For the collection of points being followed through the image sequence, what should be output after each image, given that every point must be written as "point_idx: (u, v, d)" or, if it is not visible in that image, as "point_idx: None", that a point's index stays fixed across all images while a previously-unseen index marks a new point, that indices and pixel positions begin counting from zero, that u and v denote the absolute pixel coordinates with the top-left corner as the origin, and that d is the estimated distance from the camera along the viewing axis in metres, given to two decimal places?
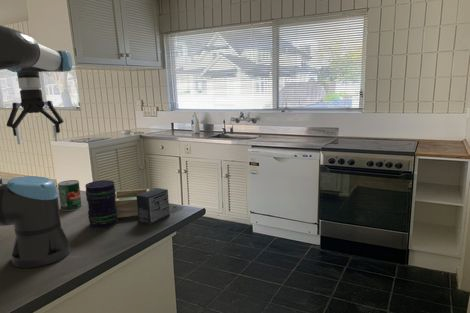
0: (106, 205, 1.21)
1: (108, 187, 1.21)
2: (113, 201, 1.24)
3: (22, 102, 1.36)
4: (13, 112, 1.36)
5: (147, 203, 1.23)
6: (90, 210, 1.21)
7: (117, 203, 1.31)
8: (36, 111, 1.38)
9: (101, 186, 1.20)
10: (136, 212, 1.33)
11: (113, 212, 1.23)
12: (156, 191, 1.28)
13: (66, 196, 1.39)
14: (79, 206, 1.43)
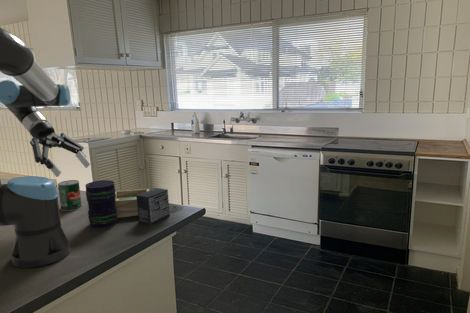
0: (106, 205, 1.21)
1: (108, 187, 1.21)
2: (113, 201, 1.24)
3: (40, 136, 1.25)
4: (38, 145, 1.21)
5: (147, 203, 1.23)
6: (90, 210, 1.21)
7: (117, 203, 1.31)
8: (57, 142, 1.29)
9: (101, 186, 1.20)
10: (136, 212, 1.33)
11: (113, 212, 1.23)
12: (156, 191, 1.28)
13: (66, 196, 1.39)
14: (79, 206, 1.43)
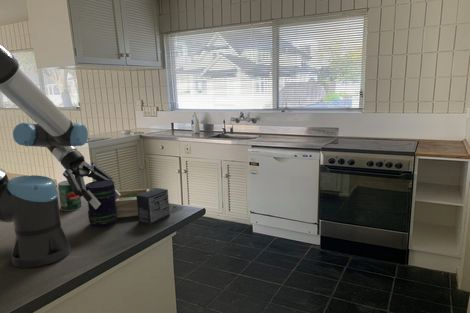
0: (106, 205, 1.21)
1: (108, 187, 1.21)
2: (113, 201, 1.24)
3: (72, 166, 1.22)
4: (73, 177, 1.18)
5: (147, 203, 1.23)
6: (90, 210, 1.21)
7: (117, 203, 1.31)
8: (88, 171, 1.25)
9: (101, 186, 1.20)
10: (136, 212, 1.33)
11: (113, 212, 1.23)
12: (156, 191, 1.28)
13: (66, 196, 1.39)
14: (79, 206, 1.43)
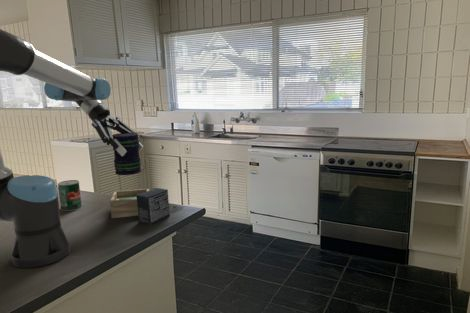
0: (131, 154, 1.31)
1: (133, 137, 1.31)
2: (137, 151, 1.34)
3: (99, 118, 1.32)
4: (101, 126, 1.29)
5: (147, 203, 1.23)
6: (116, 158, 1.32)
7: (117, 203, 1.31)
8: (113, 124, 1.36)
9: (127, 135, 1.30)
10: (136, 212, 1.33)
11: (137, 161, 1.34)
12: (156, 191, 1.28)
13: (66, 196, 1.39)
14: (79, 206, 1.43)
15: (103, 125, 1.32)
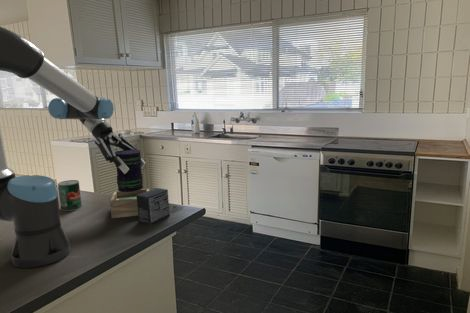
0: (134, 171, 1.33)
1: (135, 154, 1.33)
2: (139, 168, 1.36)
3: (102, 135, 1.34)
4: (104, 144, 1.30)
5: (147, 203, 1.23)
6: (119, 175, 1.33)
7: (117, 203, 1.31)
8: (116, 141, 1.37)
9: (129, 153, 1.32)
10: (136, 212, 1.33)
11: (139, 177, 1.35)
12: (156, 191, 1.28)
13: (66, 196, 1.39)
14: (79, 206, 1.43)
15: (106, 143, 1.34)
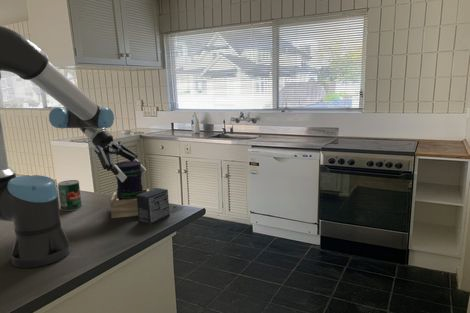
0: (134, 183, 1.34)
1: (136, 166, 1.33)
2: (140, 179, 1.36)
3: (103, 144, 1.34)
4: (103, 153, 1.30)
5: (147, 203, 1.23)
6: (119, 187, 1.34)
7: (117, 203, 1.31)
8: (116, 149, 1.38)
9: (129, 165, 1.33)
10: (136, 212, 1.33)
11: (140, 189, 1.36)
12: (156, 191, 1.28)
13: (66, 196, 1.39)
14: (79, 206, 1.43)
15: (106, 151, 1.34)
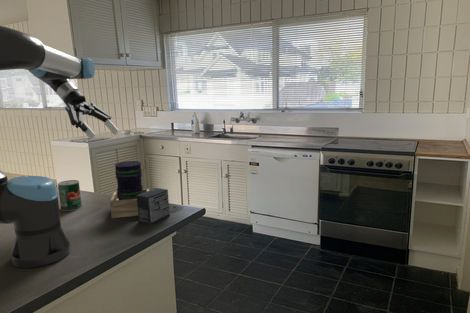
0: (134, 183, 1.34)
1: (136, 166, 1.33)
2: (140, 179, 1.36)
3: (74, 103, 1.35)
4: (73, 110, 1.31)
5: (147, 203, 1.23)
6: (119, 187, 1.34)
7: (117, 203, 1.31)
8: (89, 110, 1.39)
9: (129, 165, 1.33)
10: (136, 212, 1.33)
11: (140, 189, 1.36)
12: (156, 191, 1.28)
13: (66, 196, 1.39)
14: (79, 206, 1.43)
15: (77, 110, 1.35)
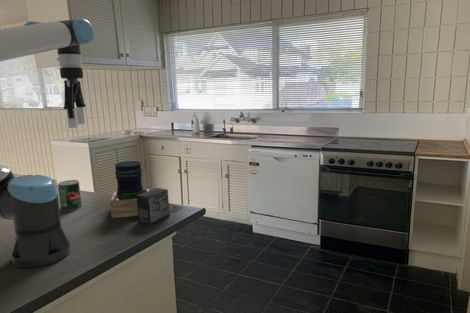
0: (134, 183, 1.34)
1: (136, 166, 1.33)
2: (140, 179, 1.36)
3: (73, 81, 1.23)
4: (72, 91, 1.21)
5: (147, 203, 1.23)
6: (119, 187, 1.34)
7: (117, 203, 1.31)
8: (77, 91, 1.28)
9: (129, 165, 1.33)
10: (136, 212, 1.33)
11: (140, 189, 1.36)
12: (156, 191, 1.28)
13: (66, 196, 1.39)
14: (79, 206, 1.43)
15: None
